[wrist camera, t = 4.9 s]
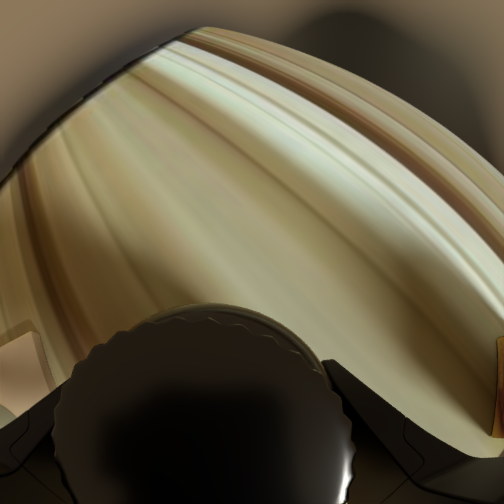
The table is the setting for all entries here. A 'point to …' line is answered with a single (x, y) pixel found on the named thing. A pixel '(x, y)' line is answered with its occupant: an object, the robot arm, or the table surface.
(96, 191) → the table surface
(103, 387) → the supplement bottle
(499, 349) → the candy box
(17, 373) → the board
